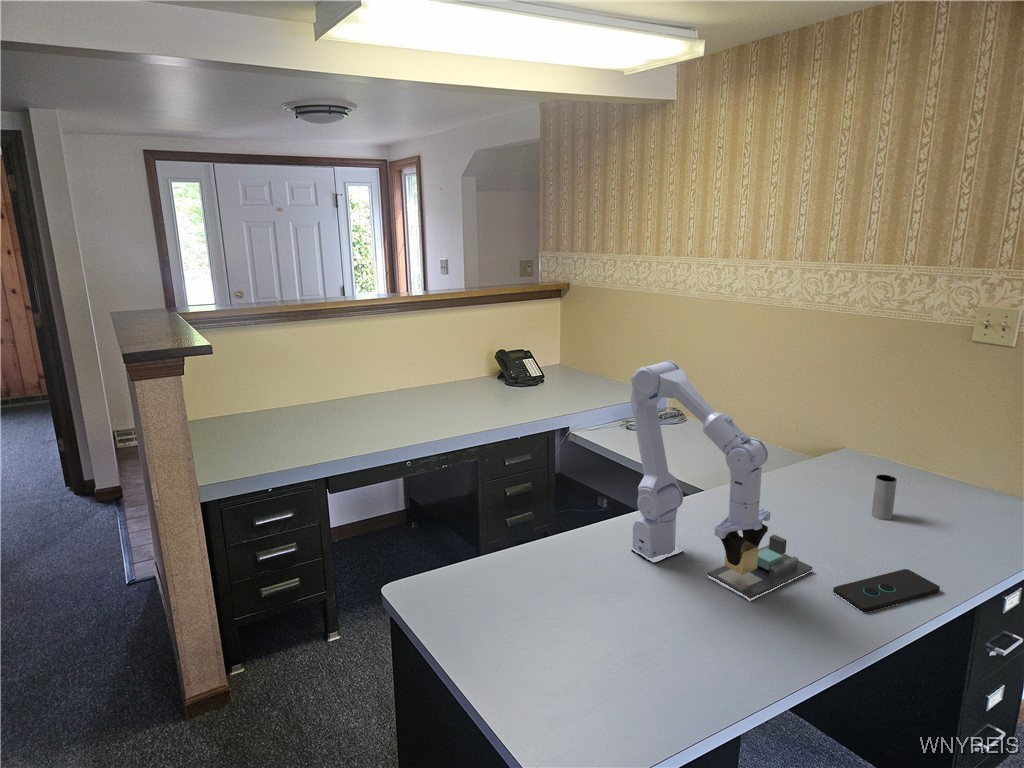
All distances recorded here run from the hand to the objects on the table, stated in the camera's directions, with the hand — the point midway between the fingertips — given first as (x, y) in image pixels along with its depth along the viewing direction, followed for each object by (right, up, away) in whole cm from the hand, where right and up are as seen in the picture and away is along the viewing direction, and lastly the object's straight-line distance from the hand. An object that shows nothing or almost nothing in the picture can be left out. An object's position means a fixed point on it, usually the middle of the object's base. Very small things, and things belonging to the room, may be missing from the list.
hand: (740, 559), depth 135 cm
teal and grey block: (+8, -2, +6) cm, 10 cm away
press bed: (+6, -4, +5) cm, 9 cm away
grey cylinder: (+46, +3, +30) cm, 55 cm away
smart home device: (+28, -6, -3) cm, 29 cm away
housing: (0, -2, 0) cm, 2 cm away
